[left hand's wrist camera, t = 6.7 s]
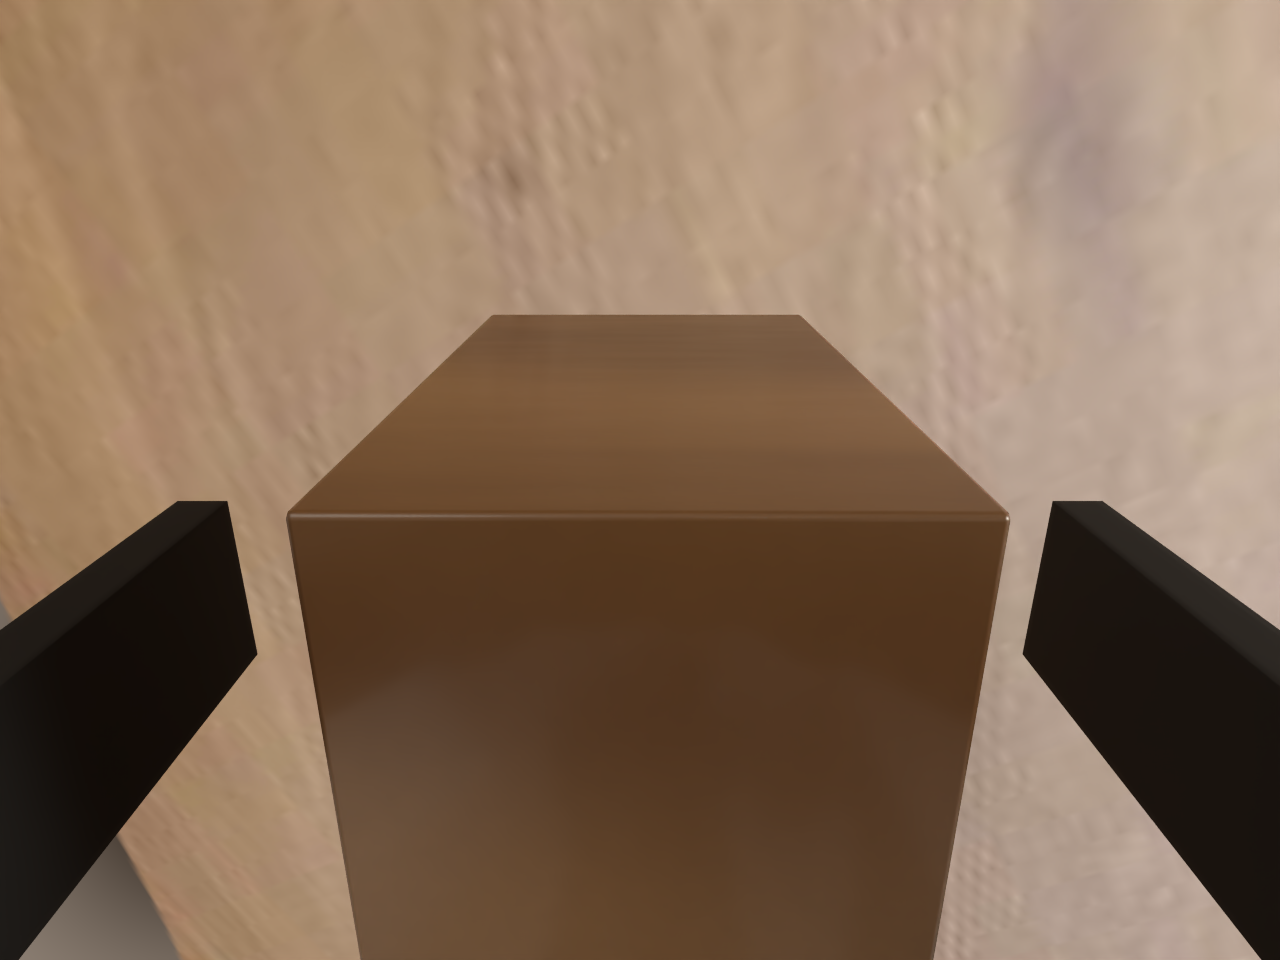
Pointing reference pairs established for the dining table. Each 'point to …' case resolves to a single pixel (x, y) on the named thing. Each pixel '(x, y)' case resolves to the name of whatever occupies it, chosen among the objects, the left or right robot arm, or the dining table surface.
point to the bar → (647, 649)
